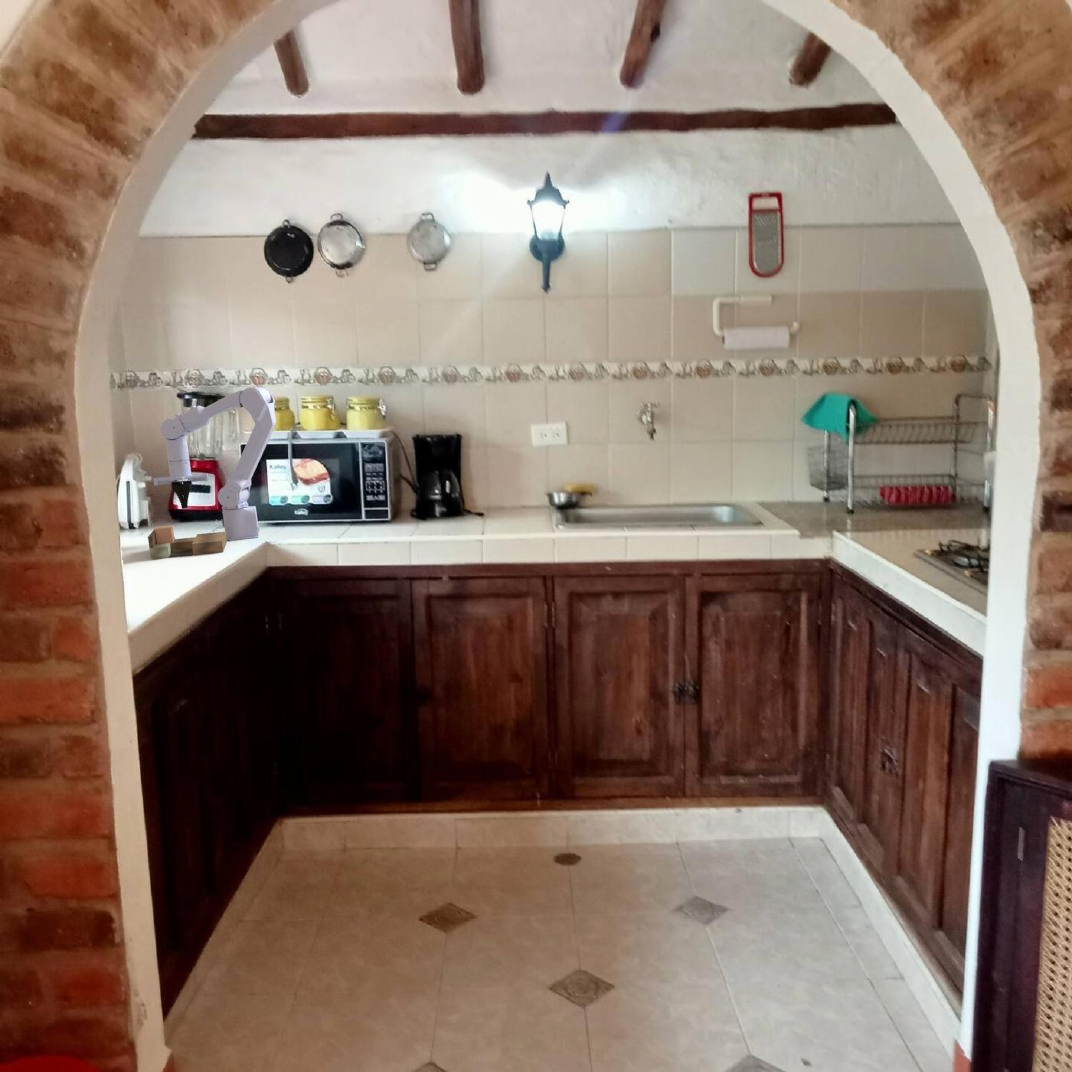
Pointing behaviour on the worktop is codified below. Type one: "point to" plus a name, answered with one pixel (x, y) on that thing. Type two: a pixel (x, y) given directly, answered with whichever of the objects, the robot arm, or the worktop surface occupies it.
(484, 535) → the worktop surface
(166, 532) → the block
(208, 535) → the board
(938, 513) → the worktop surface
